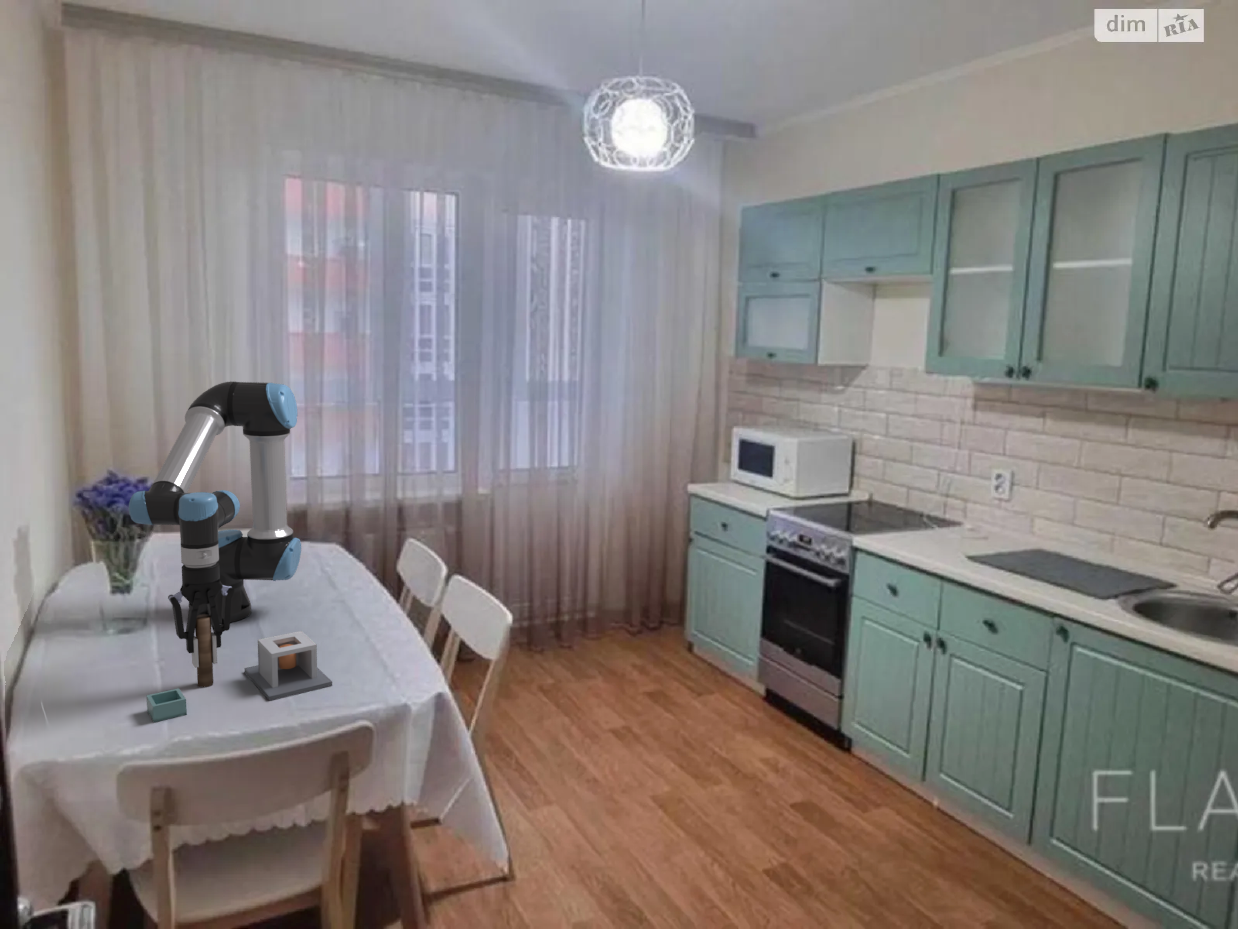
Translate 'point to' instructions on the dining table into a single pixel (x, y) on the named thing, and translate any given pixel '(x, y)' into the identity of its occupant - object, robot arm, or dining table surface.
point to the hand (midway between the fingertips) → (204, 663)
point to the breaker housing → (287, 680)
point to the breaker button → (287, 660)
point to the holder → (166, 705)
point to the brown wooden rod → (204, 651)
